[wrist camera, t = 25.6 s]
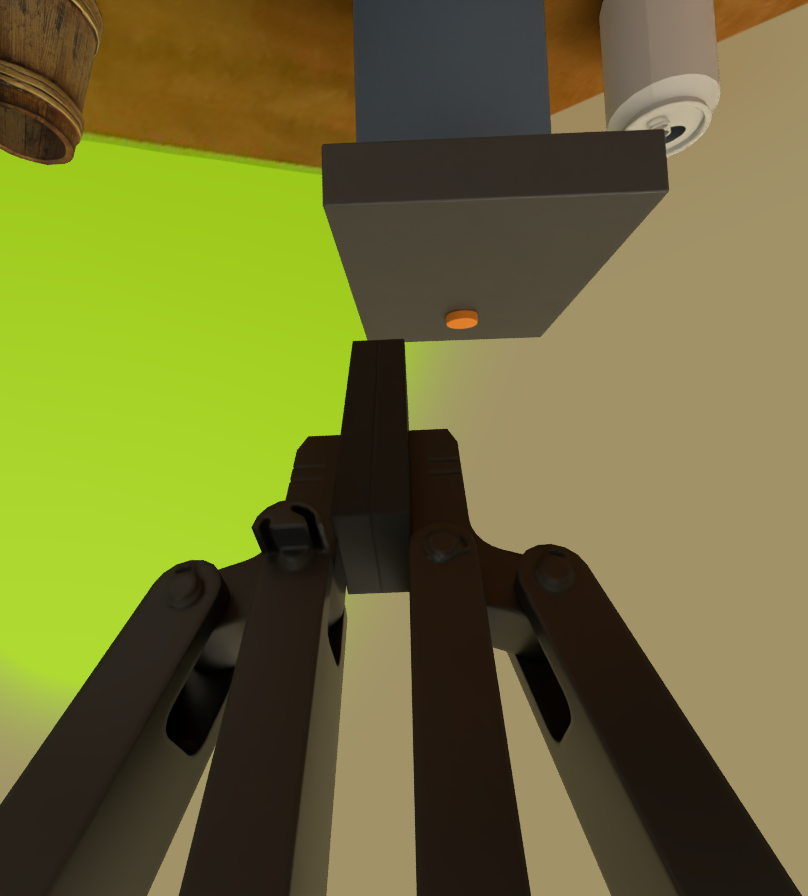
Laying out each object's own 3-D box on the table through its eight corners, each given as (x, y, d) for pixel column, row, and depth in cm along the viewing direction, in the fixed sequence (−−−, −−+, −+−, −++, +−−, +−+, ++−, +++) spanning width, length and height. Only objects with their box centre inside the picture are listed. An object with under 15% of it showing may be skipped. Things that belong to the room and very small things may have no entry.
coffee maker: (310, -407, 20) (322, 221, 18) (625, -428, 19) (671, 206, 18) (359, 16, 38) (368, 351, 36) (523, 8, 37) (541, 345, 36)
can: (611, 51, 41) (620, 182, 41) (586, -20, 35) (596, 133, 35) (713, -4, 37) (725, 143, 36) (704, -95, 31) (718, 78, 30)
